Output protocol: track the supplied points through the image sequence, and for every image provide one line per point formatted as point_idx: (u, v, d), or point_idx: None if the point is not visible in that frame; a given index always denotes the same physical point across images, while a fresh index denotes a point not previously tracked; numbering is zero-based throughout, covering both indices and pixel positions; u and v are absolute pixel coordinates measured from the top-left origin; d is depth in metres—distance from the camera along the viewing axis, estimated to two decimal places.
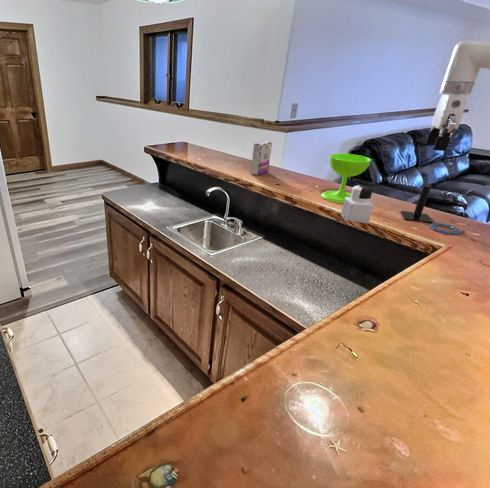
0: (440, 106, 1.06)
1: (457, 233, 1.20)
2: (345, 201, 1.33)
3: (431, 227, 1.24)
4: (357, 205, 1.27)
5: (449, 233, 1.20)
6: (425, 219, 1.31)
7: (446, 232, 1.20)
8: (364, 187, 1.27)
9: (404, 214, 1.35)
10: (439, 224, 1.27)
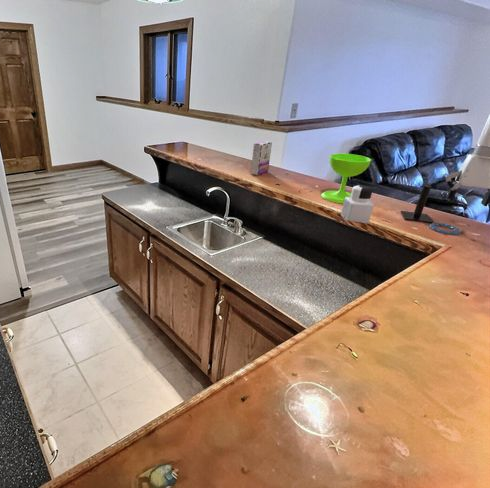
0: (487, 169, 1.11)
1: (457, 233, 1.20)
2: (345, 201, 1.33)
3: (431, 227, 1.24)
4: (357, 205, 1.27)
5: (449, 233, 1.20)
6: (425, 219, 1.31)
7: (446, 232, 1.20)
8: (364, 187, 1.27)
9: (404, 214, 1.35)
10: (439, 224, 1.27)
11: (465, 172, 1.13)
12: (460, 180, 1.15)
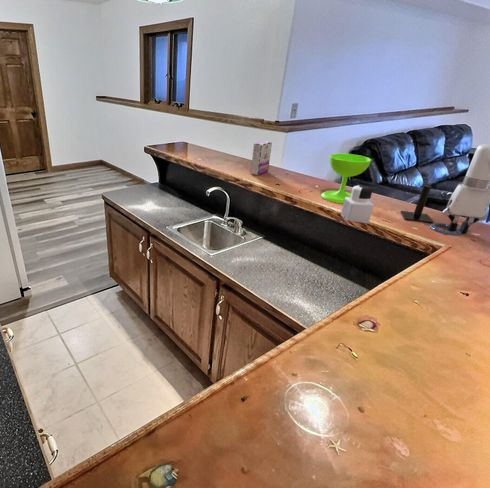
0: (476, 199, 1.15)
1: (458, 233, 1.20)
2: (345, 201, 1.33)
3: (432, 227, 1.24)
4: (357, 205, 1.27)
5: (450, 233, 1.20)
6: (425, 219, 1.31)
7: (447, 232, 1.20)
8: (364, 187, 1.27)
9: (404, 214, 1.35)
10: (440, 224, 1.27)
11: (455, 202, 1.18)
12: (450, 209, 1.19)
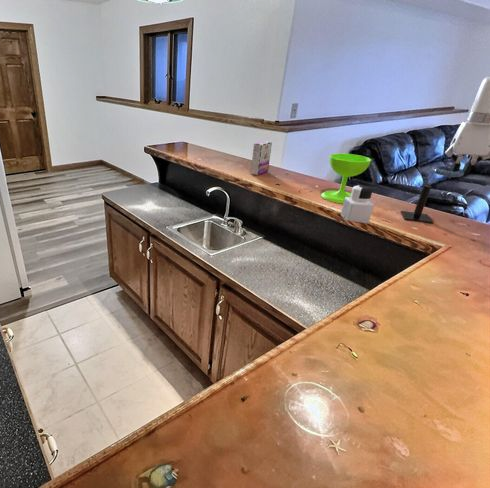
0: (480, 136, 1.12)
1: (461, 173, 1.17)
2: (345, 201, 1.33)
3: (434, 169, 1.21)
4: (357, 205, 1.27)
5: (453, 173, 1.17)
6: (425, 219, 1.31)
7: (450, 172, 1.17)
8: (364, 187, 1.27)
9: (404, 214, 1.35)
10: (442, 167, 1.24)
11: (459, 139, 1.15)
12: (454, 148, 1.16)
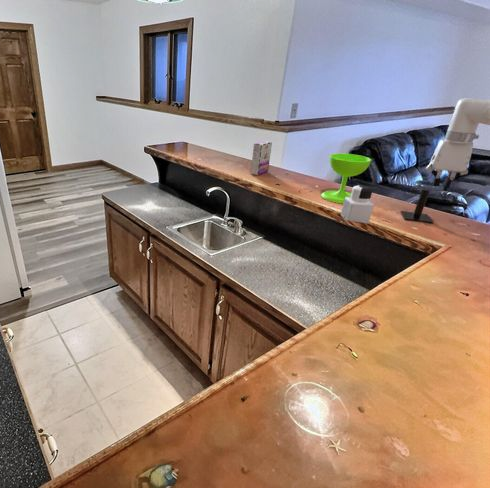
0: (457, 153, 1.19)
1: (441, 188, 1.24)
2: (345, 201, 1.33)
3: (416, 183, 1.28)
4: (357, 205, 1.27)
5: (433, 188, 1.24)
6: (425, 219, 1.31)
7: (430, 187, 1.24)
8: (364, 187, 1.27)
9: (404, 214, 1.35)
10: (424, 181, 1.31)
11: (437, 156, 1.22)
12: (433, 164, 1.23)
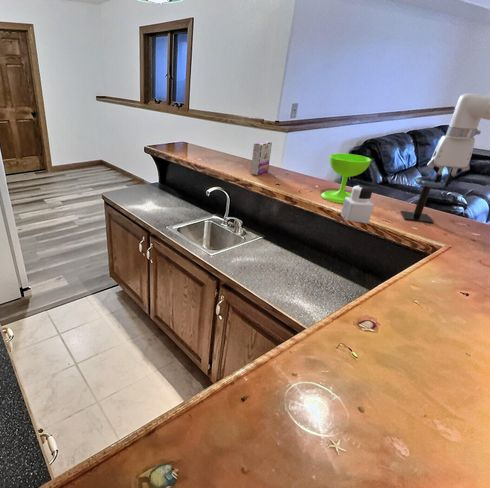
0: (459, 149, 1.18)
1: (442, 184, 1.23)
2: (345, 201, 1.33)
3: (417, 180, 1.28)
4: (357, 205, 1.27)
5: (434, 184, 1.23)
6: (425, 219, 1.31)
7: (431, 183, 1.24)
8: (364, 187, 1.27)
9: (404, 214, 1.35)
10: (425, 178, 1.30)
11: (439, 152, 1.21)
12: (435, 160, 1.23)
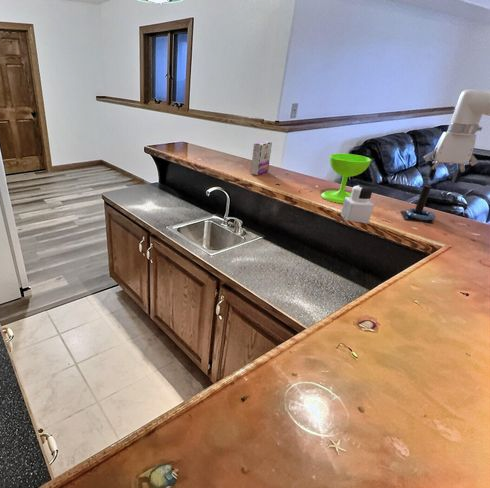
0: (460, 145, 1.18)
1: (431, 217, 1.29)
2: (345, 201, 1.33)
3: (408, 212, 1.33)
4: (357, 205, 1.27)
5: (424, 217, 1.29)
6: None
7: (421, 216, 1.29)
8: (364, 187, 1.27)
9: (404, 214, 1.35)
10: None
11: (440, 149, 1.21)
12: (436, 156, 1.22)
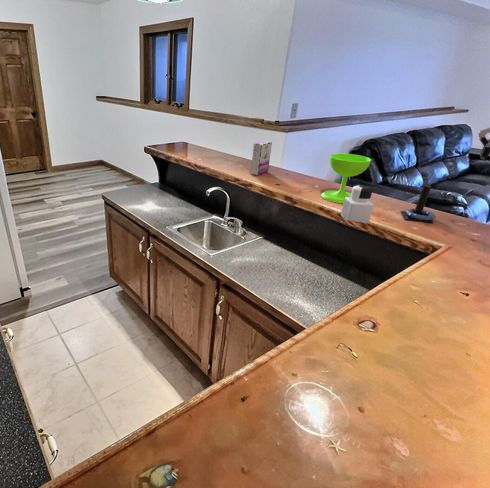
0: None
1: (431, 217, 1.29)
2: (345, 201, 1.33)
3: (408, 212, 1.33)
4: (357, 205, 1.27)
5: (424, 217, 1.29)
6: None
7: (421, 216, 1.29)
8: (364, 187, 1.27)
9: (404, 214, 1.35)
10: None
11: None
12: None
